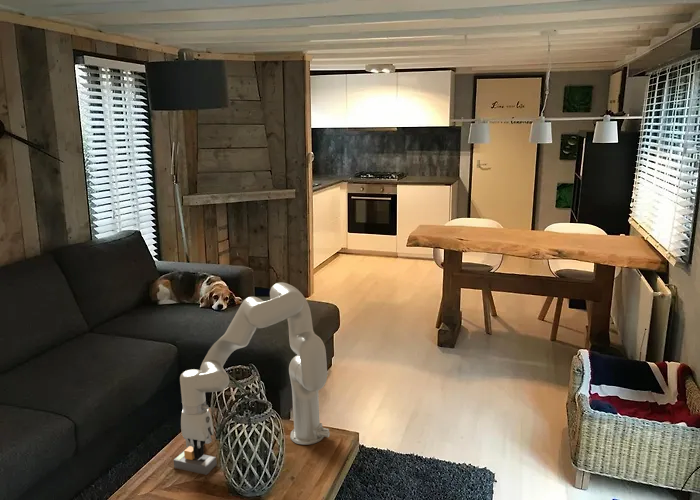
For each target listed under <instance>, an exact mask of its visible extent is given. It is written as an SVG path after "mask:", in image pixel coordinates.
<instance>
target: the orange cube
mask: <svg viewBox="0 0 700 500" xmlns="http://www.w3.org/2000/svg"><path fill="white" fill-rule="evenodd" d="M183 451H184V455H185V459H189V460H193V459H194V450H193V447H192V446H189V447H188V448H187V447H186V449H184V450H183Z"/></svg>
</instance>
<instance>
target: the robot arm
mask: <svg viewBox="0 0 700 500" xmlns="http://www.w3.org/2000/svg"><path fill="white" fill-rule="evenodd" d="M269 298H270V299H269V300H265V301H264V300H262V298H259V297H256V296H248V297H246V298H245V299H244V300H242V303H241V304H240V306H239V307H238V309H237V311H236V313H235V315H234V317H233V318H232V320H231V321H230V324H229V325H228V327H227V329H226V330H225V332H224V334H223V335H222V336H221V337H219V338H218V339H217V341H215V342H214V343H213V344H212V345H211V346H210V348H209V349H208V351H207V353H206V355H205V357H204V359H203V360H202V362H201V365H200V368H199V369H195V368H193V369H192V368H191V369H186V370H185V371H182V373H181V374H180V376H179V384H180V394H181V395H180V396H181V403H182V411H181V416H180V429H181V436H182V437H183V439H184V440H185V441H186V440H188V441H189V442H190V443H191V446H192V447H193V450H194V458H197V459H199V458H200V457H201V456H202V455H203V454H204V455H205V450H204V449H205V448H204V445H206V444H207V445H208V444H211V443H212V442H213V439H212V436H214V432H215V431H214V426H213V421H212V420H213V418H212V415H211V411H210V410H209V408H210V407H209V405H208V404H207V401H206V400H207V399H206V393H215V392H220V391H224V390H225V389H226V388H227V387H228V386H229V383H230V377H229V375H228V373H227V372H226V370H225V369H224V365H225V364H226V361H228V358H229V357H230V356H231V354H232V353H234V351H236V350H239V349H242V348H245V347H247V346H248V345H249V343H250V341H251V339H252V338H253V335H254V334H255V332H256V330H257V329H263V328H268V327H270V326H273V325H275V324H277V323H281V322H282V321H285V320H287V324H288V325H287V326H288V336H289V339H288V342H289V346H290V349H291V351H292V352H293V353H294V354H295V356H293V358H291V361H290V363H289V365H288V374H289V379H290V384H291V396H292V399H291V400H292V411H293V412H292V413H293V414H292V415H293V429H292V430H291V431H290V437H289V438H290V440H291V441H292V442H294V443H295V444H297V445H302V446H303V445H314V444H316V443H319V442H320V441H322V440H323V439H324V438H329V437H330V429H329V428H325V427H323V423H321V422H320V420H321V419H320V402H319V401H320V400H319V391H320V390H321V389H323V388H324V386H325V384H326V383H327V380H328V379H327V378H328V364H327V353H326V352H327V350H326V346H325V343H324V340H322V339H321V337H320V336H318V334H316V333H315V331H314V327H313V320H312V313H311V311H312V310H311V308H310V305H309V303H308V301H307V299H306V297H305V296H304V295H303V293H302V292H301V291H300V290H299V289H298V288H297V287H295V286H293V285H291V284H289V283H287V282H276V283H275V284H273V285H272V286H271V287H270V290H269Z"/></svg>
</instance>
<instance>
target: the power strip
mask: <svg viewBox="0 0 700 500" xmlns="http://www.w3.org/2000/svg"><path fill="white" fill-rule="evenodd" d="M217 465H218V464H217V457H216V456H212V455H207V454H205V453H204V454H203V455H202V456H201V457H200V458H199V459H197V458H194V459H193V460H189V459H185V455H184V450H183V451H181V452H180V454H179V455H178V456H176V457H175V458H174V459H173V467H174V469H178V470H184V471H186V472H187V471H188V472H192V473H196V474H199V475H200V474H201V475H204V476H205V475H208V474H209V473H210V472H211V471H212V470H214V468H215V467H217Z"/></svg>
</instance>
